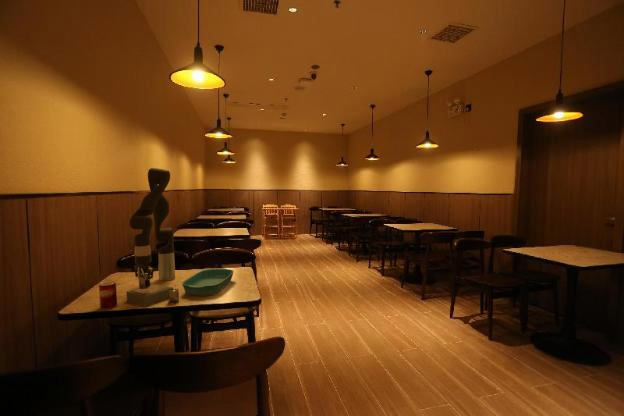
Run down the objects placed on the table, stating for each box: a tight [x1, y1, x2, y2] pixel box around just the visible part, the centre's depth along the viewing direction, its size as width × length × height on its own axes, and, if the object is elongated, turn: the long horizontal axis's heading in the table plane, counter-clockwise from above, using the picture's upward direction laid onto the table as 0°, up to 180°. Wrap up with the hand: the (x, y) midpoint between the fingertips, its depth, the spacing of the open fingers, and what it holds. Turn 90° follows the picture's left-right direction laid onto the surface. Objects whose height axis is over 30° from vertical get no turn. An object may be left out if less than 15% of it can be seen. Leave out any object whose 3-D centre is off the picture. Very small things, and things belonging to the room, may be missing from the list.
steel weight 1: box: [137, 276, 150, 289], centre depth 166 cm, size 5×5×6 cm
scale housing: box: [125, 283, 174, 307], centre depth 169 cm, size 16×16×5 cm
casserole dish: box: [181, 267, 235, 297], centre depth 186 cm, size 37×22×7 cm, turn 175°
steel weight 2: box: [167, 288, 180, 304], centre depth 164 cm, size 5×5×6 cm
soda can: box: [98, 280, 118, 310], centre depth 158 cm, size 7×7×12 cm
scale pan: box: [132, 284, 167, 295], centre depth 168 cm, size 12×12×2 cm
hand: (144, 285), depth 166 cm, fingers closed on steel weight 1, 5 cm apart
